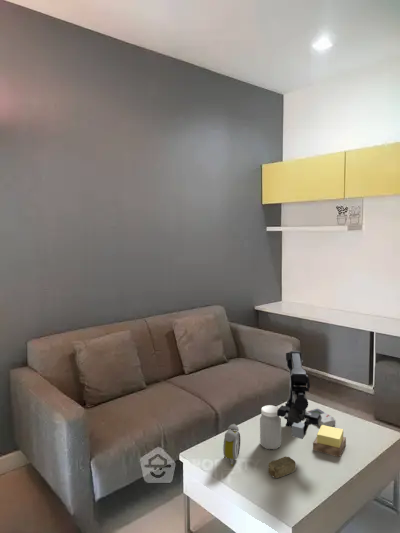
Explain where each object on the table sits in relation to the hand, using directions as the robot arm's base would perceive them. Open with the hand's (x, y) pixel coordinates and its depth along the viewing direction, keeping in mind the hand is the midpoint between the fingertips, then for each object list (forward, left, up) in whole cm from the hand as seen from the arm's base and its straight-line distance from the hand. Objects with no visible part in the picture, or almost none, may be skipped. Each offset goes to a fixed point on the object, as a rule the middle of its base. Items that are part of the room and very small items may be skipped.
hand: (298, 432), depth 182 cm
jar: (-14, +2, -11) cm, 18 cm away
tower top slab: (+10, +14, -7) cm, 19 cm away
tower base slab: (+10, +14, -11) cm, 21 cm away
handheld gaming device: (0, +37, -12) cm, 39 cm away
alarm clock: (-25, -18, -11) cm, 33 cm away
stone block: (-2, -15, -11) cm, 19 cm away
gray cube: (0, 0, -1) cm, 1 cm away
